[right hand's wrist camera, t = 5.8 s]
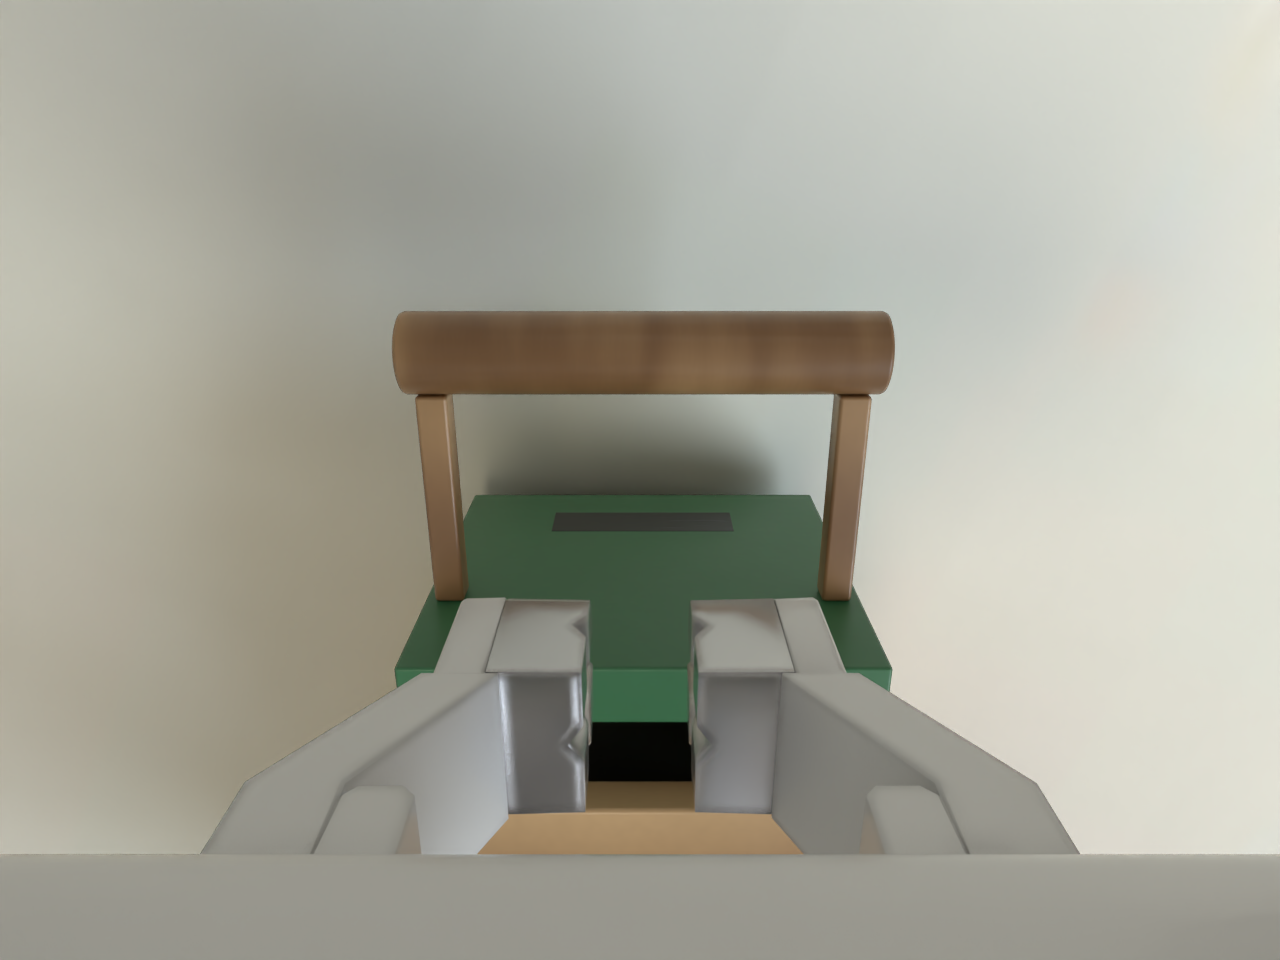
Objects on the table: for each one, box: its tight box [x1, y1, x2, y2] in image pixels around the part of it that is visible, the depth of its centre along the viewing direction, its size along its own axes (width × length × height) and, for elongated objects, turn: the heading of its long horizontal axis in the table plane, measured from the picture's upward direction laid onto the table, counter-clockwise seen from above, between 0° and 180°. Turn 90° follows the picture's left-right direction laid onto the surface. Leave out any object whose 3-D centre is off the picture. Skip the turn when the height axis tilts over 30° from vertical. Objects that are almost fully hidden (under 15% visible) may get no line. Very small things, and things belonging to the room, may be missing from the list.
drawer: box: [392, 311, 895, 781], centre depth 21 cm, size 22×9×8 cm, turn 0°
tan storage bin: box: [477, 781, 803, 854], centre depth 23 cm, size 17×10×10 cm, turn 0°
